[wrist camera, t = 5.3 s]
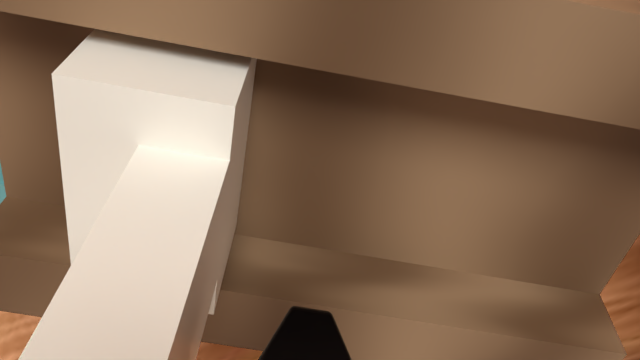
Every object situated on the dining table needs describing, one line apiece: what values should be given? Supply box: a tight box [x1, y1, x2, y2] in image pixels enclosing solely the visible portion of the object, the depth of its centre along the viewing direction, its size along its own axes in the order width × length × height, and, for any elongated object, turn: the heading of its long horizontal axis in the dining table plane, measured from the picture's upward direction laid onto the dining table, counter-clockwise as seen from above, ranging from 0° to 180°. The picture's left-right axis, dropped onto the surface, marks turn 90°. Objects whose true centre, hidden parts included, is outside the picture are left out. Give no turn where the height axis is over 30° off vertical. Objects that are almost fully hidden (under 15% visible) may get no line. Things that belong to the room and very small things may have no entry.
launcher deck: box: [0, 0, 640, 360], centre depth 15 cm, size 16×10×7 cm, turn 80°
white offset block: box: [18, 29, 257, 360], centre depth 10 cm, size 3×5×8 cm, turn 170°
